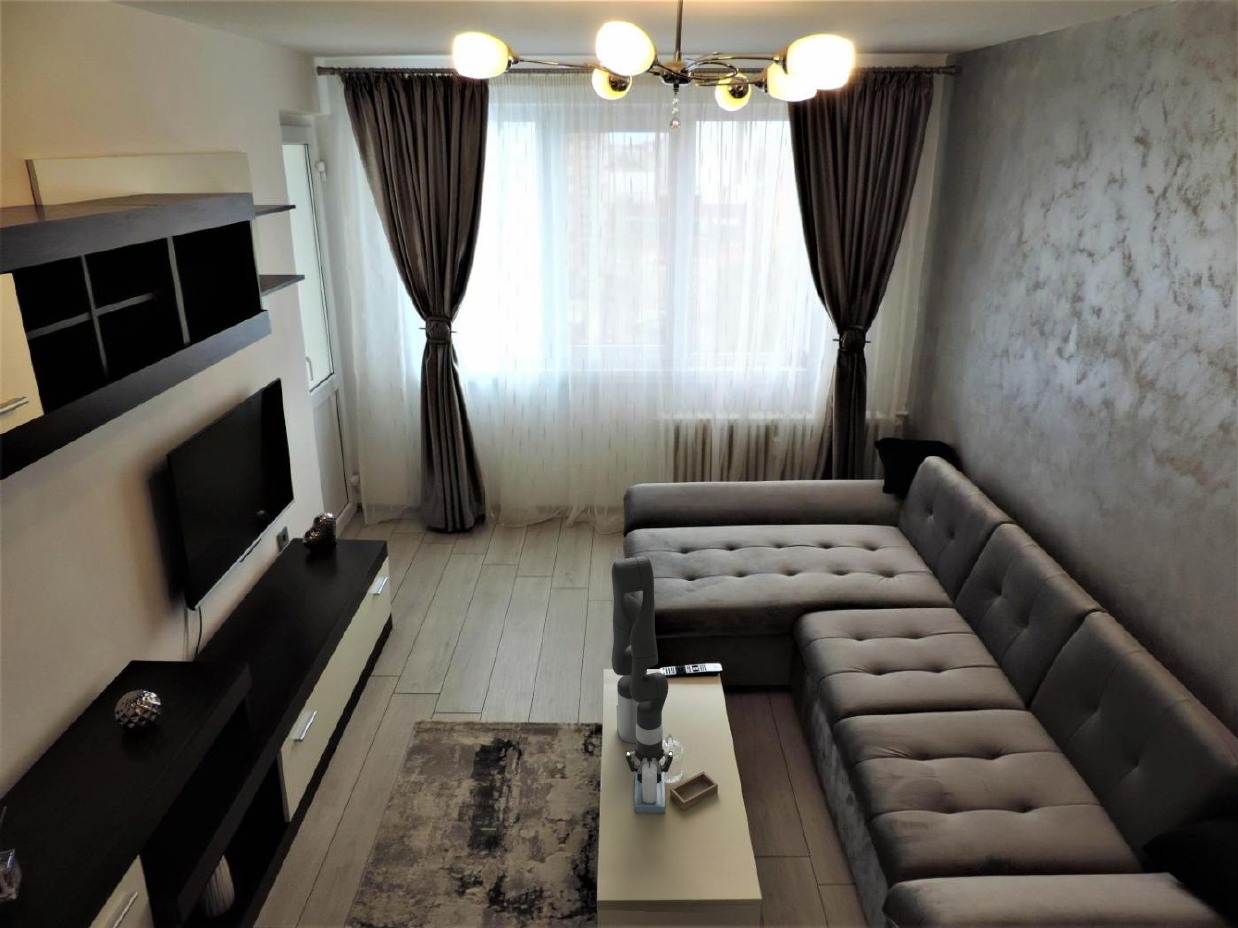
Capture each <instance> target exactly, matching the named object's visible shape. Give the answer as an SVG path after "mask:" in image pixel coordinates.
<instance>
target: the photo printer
mask: <svg viewBox="0 0 1238 928" xmlns="http://www.w3.org/2000/svg"><path fill="white" fill-rule="evenodd" d="M642 793H643V801H644V802H645V803H647V804H652V803H654V802H656V798H657V767H656V765H655V764H654V763H653V761H650V763H649V761H646V763H645V764H644V765H643V767H642Z"/></svg>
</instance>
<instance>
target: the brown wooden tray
mask: <svg viewBox="0 0 1238 928" xmlns="http://www.w3.org/2000/svg"><path fill="white" fill-rule="evenodd" d="M702 782H703V783H704V784H705V785H706V786H707V788H706V789H703V790H702V791H700V792H698V793H696V794H694V795H692V796H690V797H688V798H687V799H685V800H684V798H683V797H682V796H681V795H680V794H682V793H684V792H686V791H688V790H690V789H692V788H694V787H696V786H697V785H699V784H701V783H702ZM718 788H719V785H718V783H716V781H715V780H713V779H712V777H710V776H709V774H707V773H706V772H705V770H703V771H701V772H699V773H698V774H696V775H693V776H692V777H690V778H688V779H686V780H684V781H682V782H680V783H678V784H677V785H675V786H673V787H671V788H670V789H669V797H670V798H671V799H672V800H673V802H675V804H676V805H677V806H678V807H680V809H681V810H682V811H683V812H685V811H686V810H689V809H690V808H692V807H694V806H696V805H698V804H700V803H701V802H704V801H705V800H707V799H708V798H711V797H712V796H714V795H716V794H718V791H719V789H718Z"/></svg>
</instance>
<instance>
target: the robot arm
mask: <svg viewBox="0 0 1238 928" xmlns="http://www.w3.org/2000/svg"><path fill="white" fill-rule="evenodd" d="M611 584H612V594H613V607H612V609H613V612H612V629H613V631H612V632H613V633H612V634H613V641H612V643H613V644H612V652H611V653H612V654H611V667H612V670H613V672H614V674H615V675H617V676H621V677H620V678H619V680H618V681H617V684H616V685H617V686H616V689H617V690H616V691H617V693H616V694H617V705H616V729H617V733H618V737H619V739H621V740H622V741H624V742H626V743H628V744H635V749H634V751H631V750H626V751H625V760H626V762H627V764H628V767H629V769H630V771H631V772H632V773H635V772H637V780H638V781H640V783H642V767H643V765H644V764H645V763H646V761H649V763H650V761H653V763H654V764H655V765H656V767H657V783H659V781H661V780H662V772H664V773H668V772H669V769H670V767H671V765H672V763H673V759H674V752H673V751H672V750H669V751H665V750H664V747H663V745H664V744H663V743H664V742H663V739H664V736H663V735H664V734H663V733H664V730H663V729H664V728H663V720H662V719H663V718H662V717H663V708H664V706H665V702H666V699H667V697H668V692H669V680H668V679H667V676H666V675H665V674H664V673H662V672H653V673H648V669H650V668H652V667H654V666H657V664H658V662H659V654H658V648H657V646H658V645H657V639H656V631H655V630H656V628H655V625H656V623H655V622H656V621H655V619H656V618H655V611H656V610H655V608H656V606H655V577H654V569H653V566H652V562H651V560H650V558H649V557H647V556H646V555H643V556H635V557H629V558H622V559H621V558H620V559H618V560H616V561H614V562H613V564H612V567H611ZM636 592H642V599H641V600H642V602H641V603H640V602H639V601H638V600H637V599H636V598H635V597H633V596H632V595H631V594H629V593H636ZM635 757H636V758H637V760H638V763H637V764H636V763H635V760H634V758H635ZM663 757H664V759H665V760H664V763H663V764H662V763H661V760H662V759H663Z"/></svg>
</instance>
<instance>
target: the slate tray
mask: <svg viewBox="0 0 1238 928" xmlns="http://www.w3.org/2000/svg"><path fill="white" fill-rule="evenodd" d="M665 791H666V790H665V772H662V780H661V781H659V783H657V798H656V802H654V803H652V804H647V803H645V802H644V801H643V793H642V783H640V781H638V780H637V772H634V814H664V815H665V814H666V793H665Z"/></svg>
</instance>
